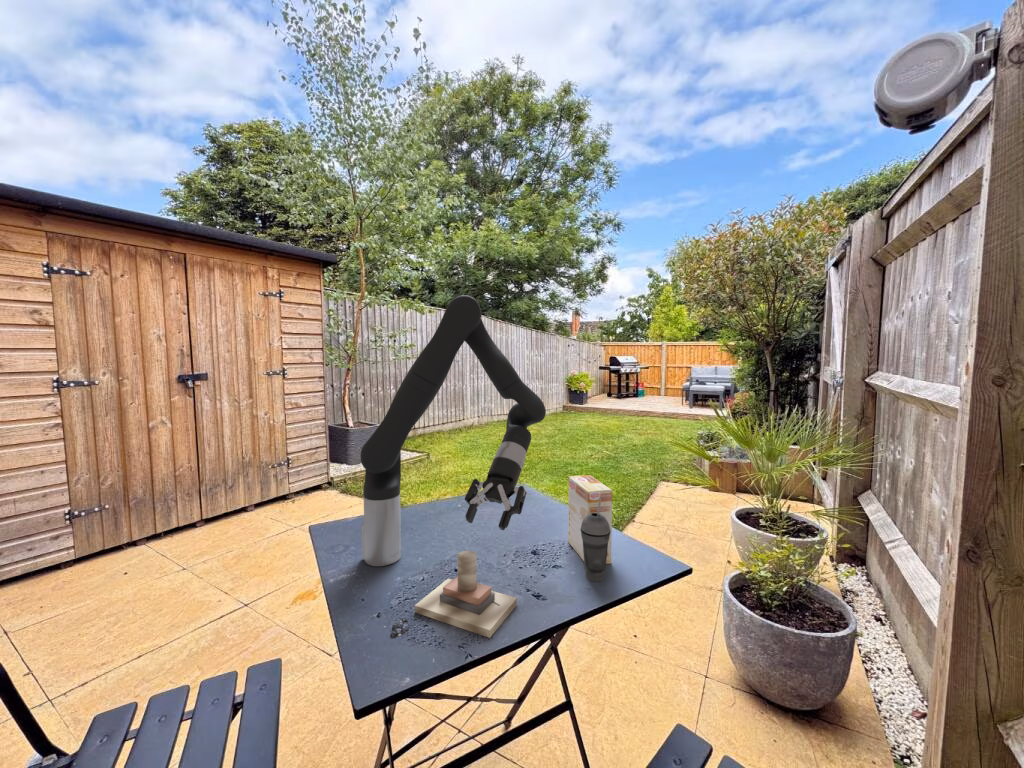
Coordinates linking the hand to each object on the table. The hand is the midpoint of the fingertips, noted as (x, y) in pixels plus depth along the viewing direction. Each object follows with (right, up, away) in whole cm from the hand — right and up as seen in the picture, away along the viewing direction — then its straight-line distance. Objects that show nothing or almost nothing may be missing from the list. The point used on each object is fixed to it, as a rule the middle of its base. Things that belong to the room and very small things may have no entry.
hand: (484, 525), depth 94 cm
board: (-3, -16, -6) cm, 17 cm away
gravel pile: (-16, -17, -12) cm, 26 cm away
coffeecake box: (+27, -14, +20) cm, 37 cm away
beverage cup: (+27, -15, +7) cm, 31 cm away
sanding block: (-3, -14, -6) cm, 16 cm away
